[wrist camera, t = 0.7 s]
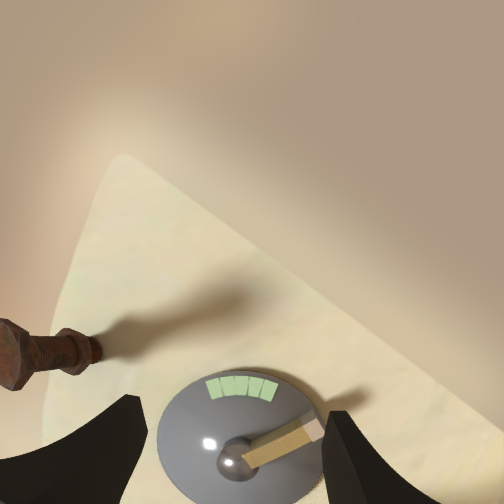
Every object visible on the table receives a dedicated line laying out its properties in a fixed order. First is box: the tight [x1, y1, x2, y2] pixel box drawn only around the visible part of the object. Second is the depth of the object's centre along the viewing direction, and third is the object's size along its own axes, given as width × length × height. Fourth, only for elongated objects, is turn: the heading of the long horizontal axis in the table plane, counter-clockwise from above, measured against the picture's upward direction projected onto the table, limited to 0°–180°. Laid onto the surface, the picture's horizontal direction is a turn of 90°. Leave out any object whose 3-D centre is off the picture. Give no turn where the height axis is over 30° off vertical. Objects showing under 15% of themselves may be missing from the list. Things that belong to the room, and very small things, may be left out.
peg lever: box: [216, 410, 325, 482], centre depth 26 cm, size 11×4×3 cm, turn 119°
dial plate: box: [157, 370, 325, 504], centre depth 28 cm, size 18×18×1 cm
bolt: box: [0, 318, 102, 391], centre depth 24 cm, size 6×5×15 cm
